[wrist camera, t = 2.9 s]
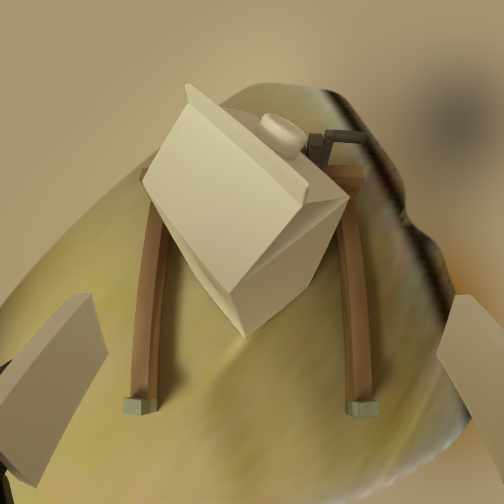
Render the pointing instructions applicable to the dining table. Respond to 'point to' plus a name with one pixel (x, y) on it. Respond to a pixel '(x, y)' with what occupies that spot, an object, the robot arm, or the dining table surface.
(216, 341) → the dining table surface
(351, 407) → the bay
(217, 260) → the milk carton
